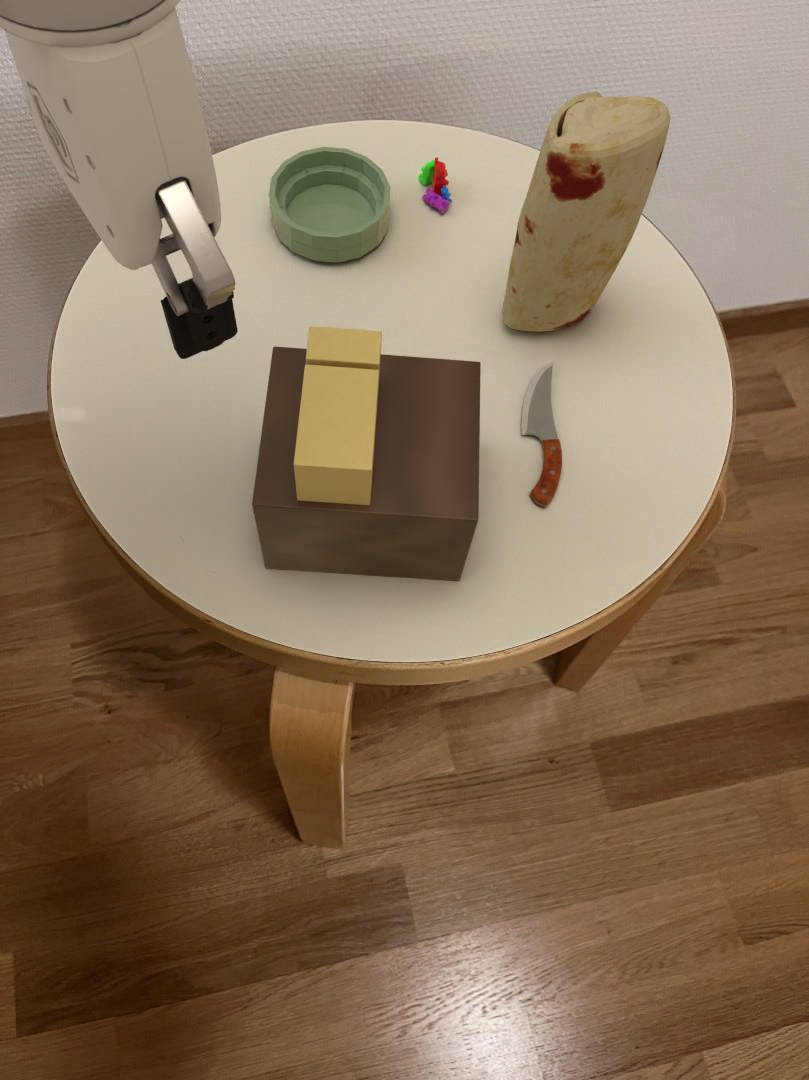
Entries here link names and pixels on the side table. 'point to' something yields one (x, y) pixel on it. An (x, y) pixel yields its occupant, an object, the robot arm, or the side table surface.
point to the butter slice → (344, 348)
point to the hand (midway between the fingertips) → (163, 276)
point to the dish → (329, 204)
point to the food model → (582, 207)
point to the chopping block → (379, 476)
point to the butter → (336, 435)
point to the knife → (543, 434)
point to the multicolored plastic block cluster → (436, 185)
